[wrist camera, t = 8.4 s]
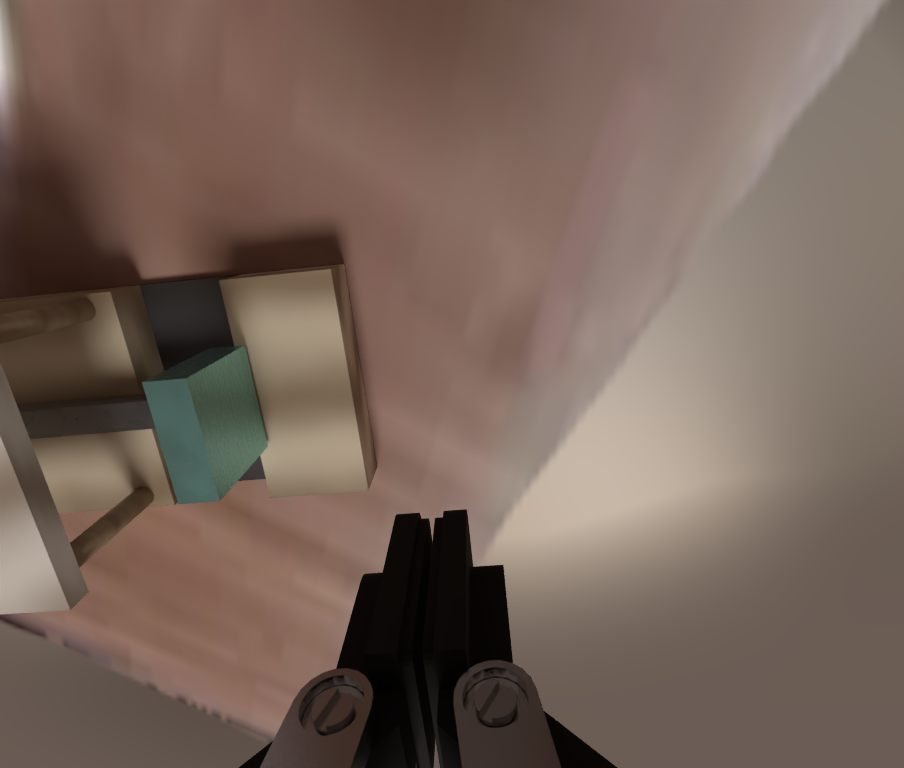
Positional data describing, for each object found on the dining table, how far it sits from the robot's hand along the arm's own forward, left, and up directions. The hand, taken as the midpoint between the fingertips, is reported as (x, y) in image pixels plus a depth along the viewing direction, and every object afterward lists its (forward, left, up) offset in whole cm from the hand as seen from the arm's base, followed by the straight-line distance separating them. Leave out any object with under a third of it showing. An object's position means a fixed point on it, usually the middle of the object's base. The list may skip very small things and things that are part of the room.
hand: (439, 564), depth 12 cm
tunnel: (+1, -25, -20) cm, 32 cm away
